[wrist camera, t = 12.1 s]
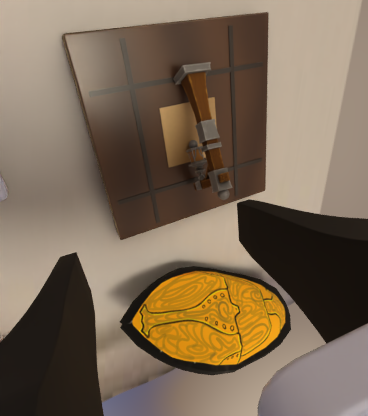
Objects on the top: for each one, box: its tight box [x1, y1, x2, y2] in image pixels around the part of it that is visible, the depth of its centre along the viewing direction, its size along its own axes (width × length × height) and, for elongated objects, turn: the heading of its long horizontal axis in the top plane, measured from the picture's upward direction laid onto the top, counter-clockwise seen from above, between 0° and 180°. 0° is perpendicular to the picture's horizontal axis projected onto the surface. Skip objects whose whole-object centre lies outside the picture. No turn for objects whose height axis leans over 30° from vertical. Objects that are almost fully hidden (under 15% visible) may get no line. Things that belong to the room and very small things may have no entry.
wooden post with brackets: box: [173, 62, 233, 200], centre depth 19 cm, size 2×8×4 cm, turn 6°
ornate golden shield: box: [120, 266, 291, 375], centre depth 26 cm, size 9×17×6 cm
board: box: [62, 12, 268, 240], centre depth 20 cm, size 13×13×1 cm
